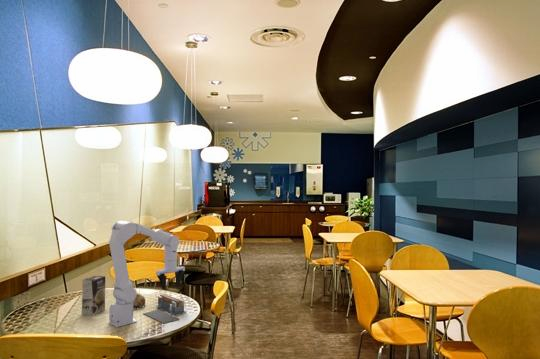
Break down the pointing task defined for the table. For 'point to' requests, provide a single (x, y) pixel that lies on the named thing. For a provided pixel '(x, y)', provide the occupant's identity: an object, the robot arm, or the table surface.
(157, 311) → the mat
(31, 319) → the table surface
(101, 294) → the coffee box
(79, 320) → the table surface
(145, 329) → the table surface
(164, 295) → the rail
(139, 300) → the bread roll
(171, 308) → the stand
